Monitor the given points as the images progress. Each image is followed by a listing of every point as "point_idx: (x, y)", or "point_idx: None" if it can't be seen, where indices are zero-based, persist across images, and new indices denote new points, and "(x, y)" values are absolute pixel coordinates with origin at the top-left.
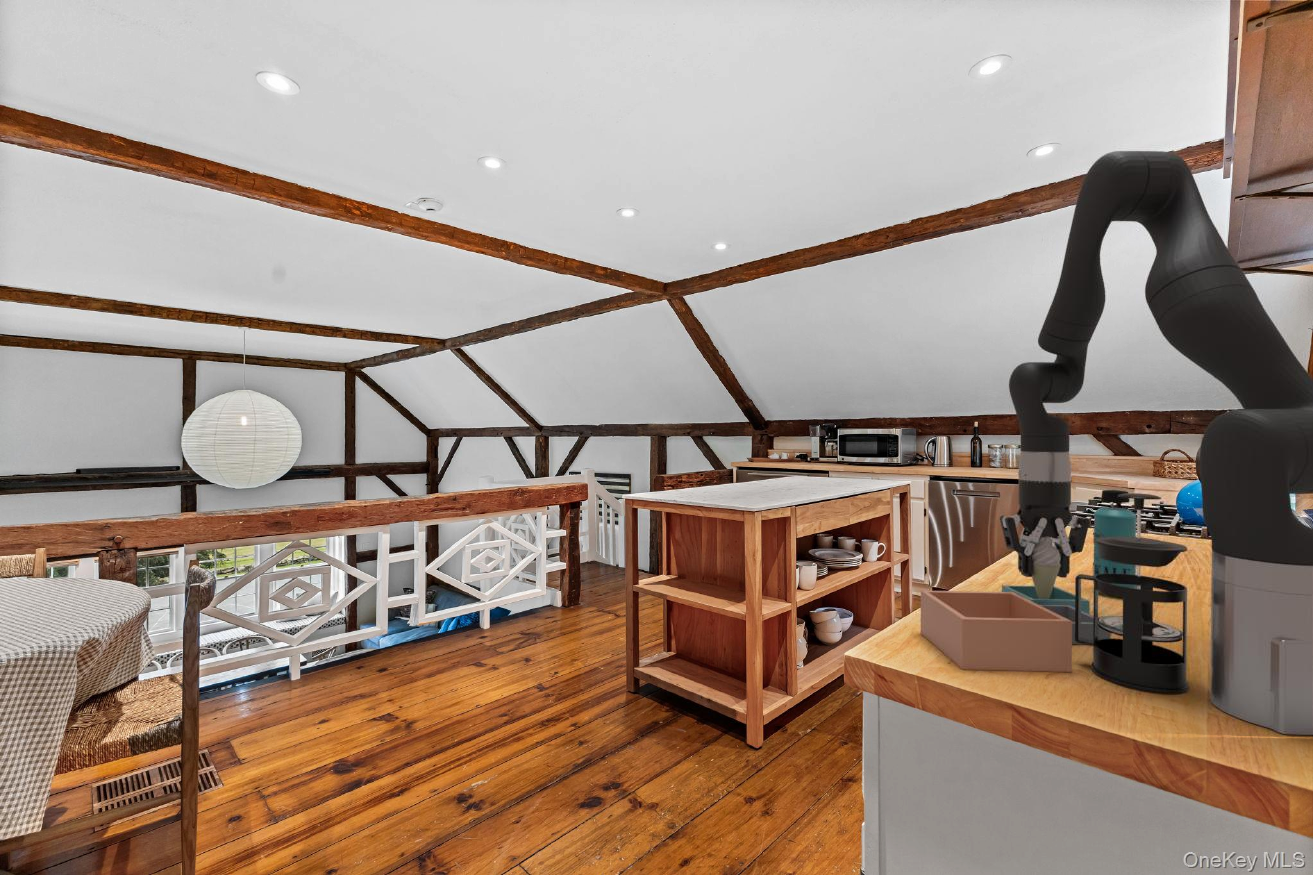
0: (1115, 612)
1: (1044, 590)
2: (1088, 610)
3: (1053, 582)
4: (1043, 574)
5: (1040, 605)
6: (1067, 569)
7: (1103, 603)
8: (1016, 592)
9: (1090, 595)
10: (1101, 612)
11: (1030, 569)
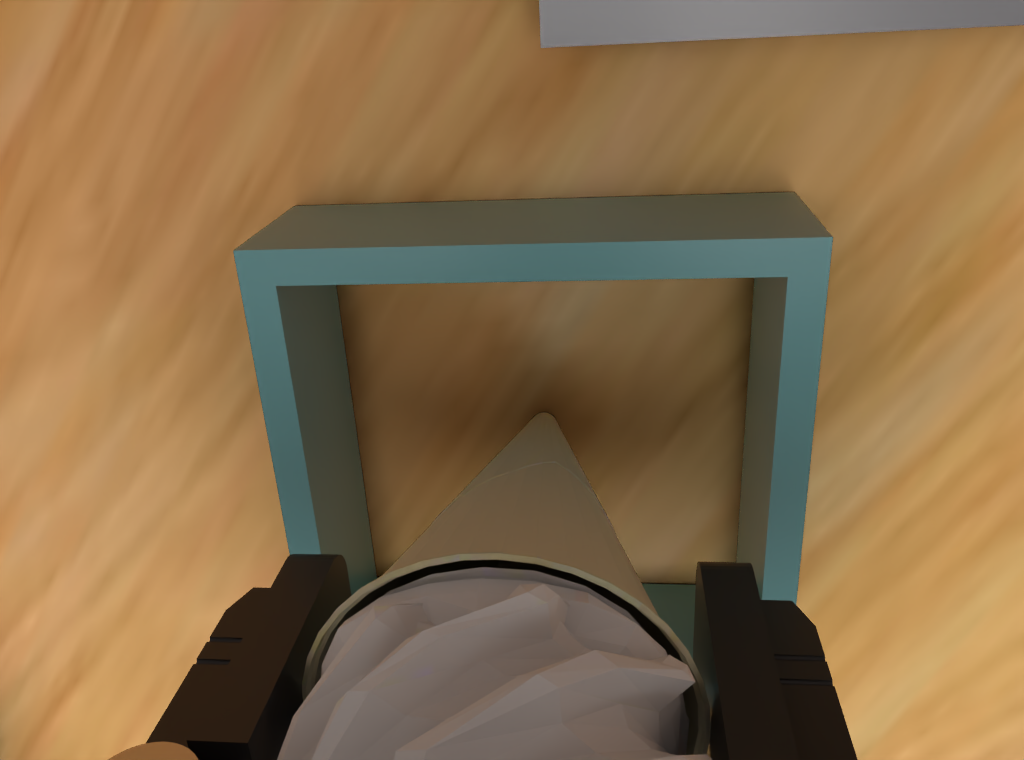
0: (15, 400)
1: (558, 466)
2: (278, 224)
3: (464, 498)
4: (586, 538)
5: (889, 2)
6: (242, 625)
7: (13, 597)
8: (806, 497)
9: (26, 753)
10: (117, 394)
11: (733, 613)
